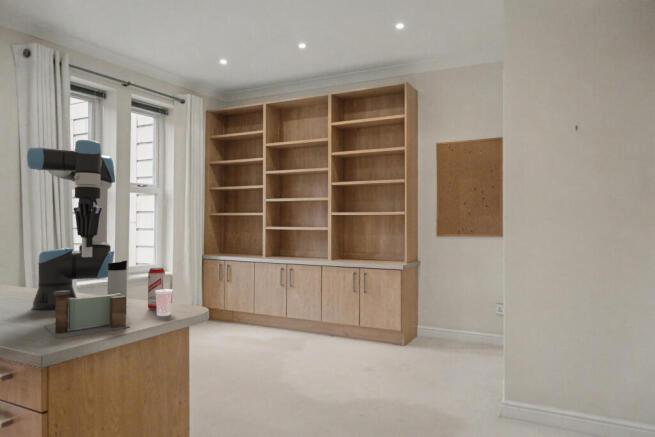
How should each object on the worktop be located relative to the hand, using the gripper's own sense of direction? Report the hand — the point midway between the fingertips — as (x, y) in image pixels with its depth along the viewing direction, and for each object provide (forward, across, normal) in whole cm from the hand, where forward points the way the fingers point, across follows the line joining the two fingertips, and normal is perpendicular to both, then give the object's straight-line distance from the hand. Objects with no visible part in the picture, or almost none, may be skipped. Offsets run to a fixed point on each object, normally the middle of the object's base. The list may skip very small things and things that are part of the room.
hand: (86, 256), depth 144 cm
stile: (+22, +14, +2) cm, 26 cm away
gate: (+21, +9, -2) cm, 23 cm away
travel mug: (+23, -4, +13) cm, 27 cm away
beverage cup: (+23, +9, +23) cm, 34 cm away
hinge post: (+22, +6, -11) cm, 26 cm away
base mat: (+22, +5, -2) cm, 23 cm away
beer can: (+23, -2, +28) cm, 36 cm away
